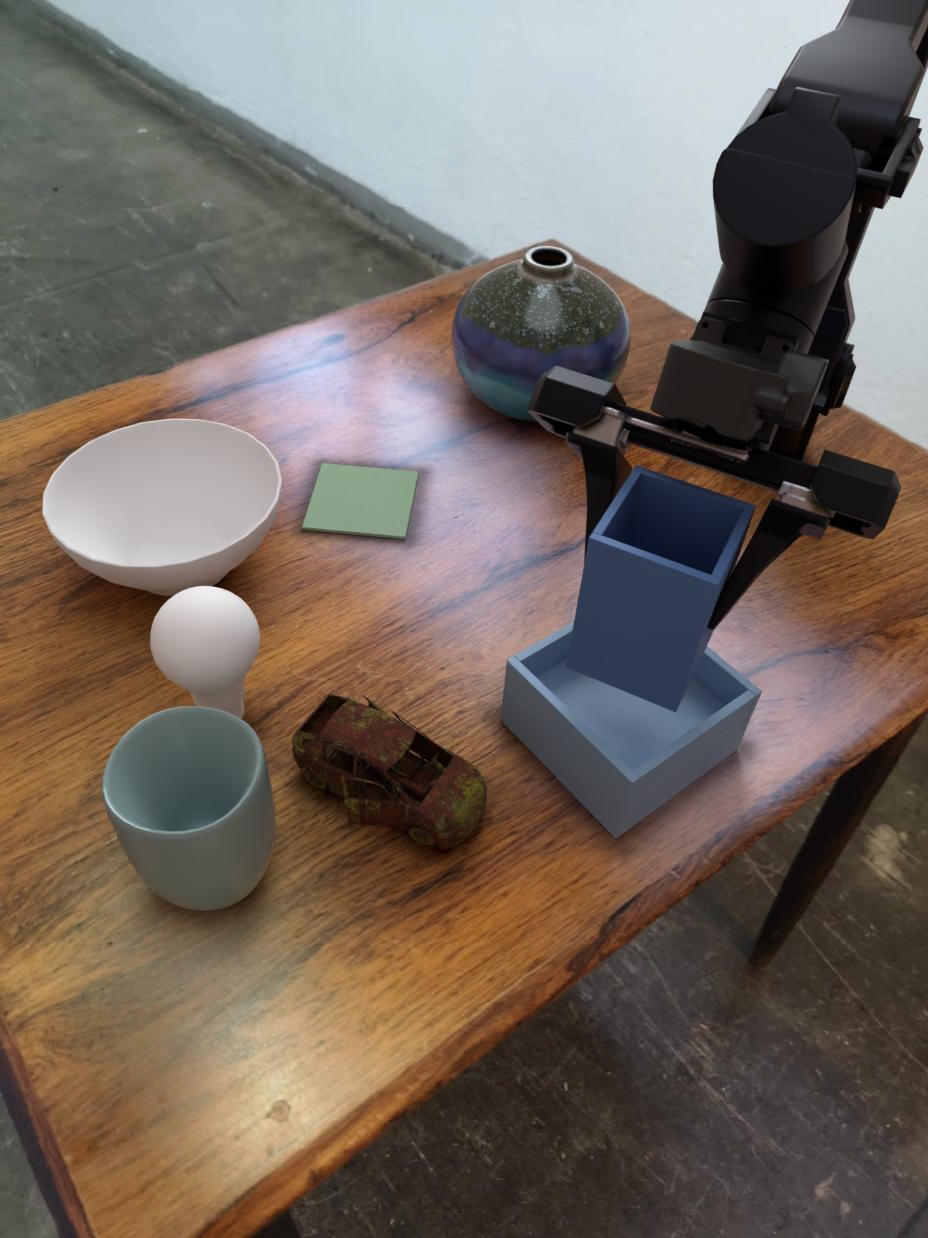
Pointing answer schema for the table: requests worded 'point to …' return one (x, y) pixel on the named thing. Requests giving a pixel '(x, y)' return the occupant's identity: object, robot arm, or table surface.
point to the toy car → (389, 772)
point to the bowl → (164, 503)
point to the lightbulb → (207, 645)
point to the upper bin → (655, 584)
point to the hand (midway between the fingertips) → (647, 605)
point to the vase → (537, 328)
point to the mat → (361, 501)
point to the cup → (192, 805)
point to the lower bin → (622, 730)
